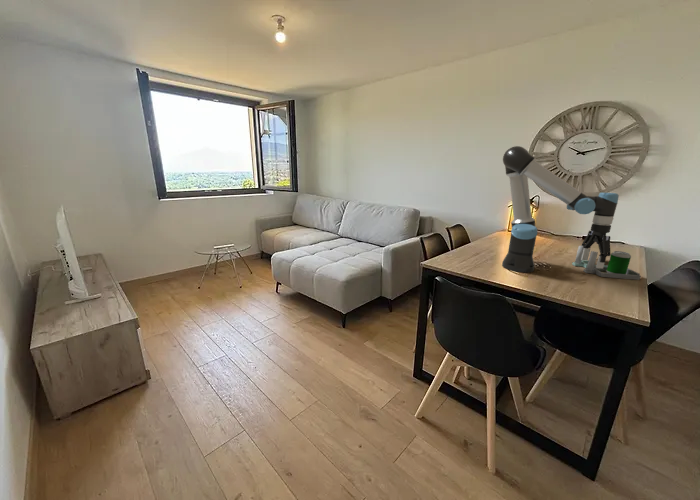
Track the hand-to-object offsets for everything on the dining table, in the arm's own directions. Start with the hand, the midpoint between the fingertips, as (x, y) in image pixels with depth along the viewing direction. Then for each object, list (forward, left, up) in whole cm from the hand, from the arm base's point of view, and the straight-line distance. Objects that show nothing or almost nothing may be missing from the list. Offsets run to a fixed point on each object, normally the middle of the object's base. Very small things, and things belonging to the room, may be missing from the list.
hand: (591, 264), depth 151 cm
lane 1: (+8, +12, -5) cm, 15 cm away
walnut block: (+11, +12, -5) cm, 17 cm away
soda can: (+12, 0, -5) cm, 13 cm away
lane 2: (+8, 0, -5) cm, 10 cm away
